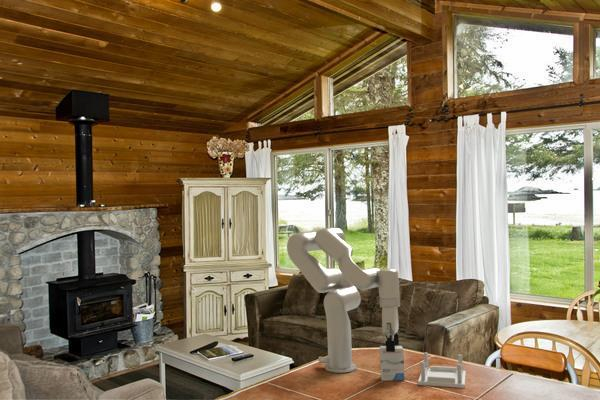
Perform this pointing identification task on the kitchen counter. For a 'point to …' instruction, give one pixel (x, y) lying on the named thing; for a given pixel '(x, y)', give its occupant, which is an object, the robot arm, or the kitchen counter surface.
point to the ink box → (392, 364)
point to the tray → (442, 374)
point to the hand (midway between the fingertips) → (392, 348)
